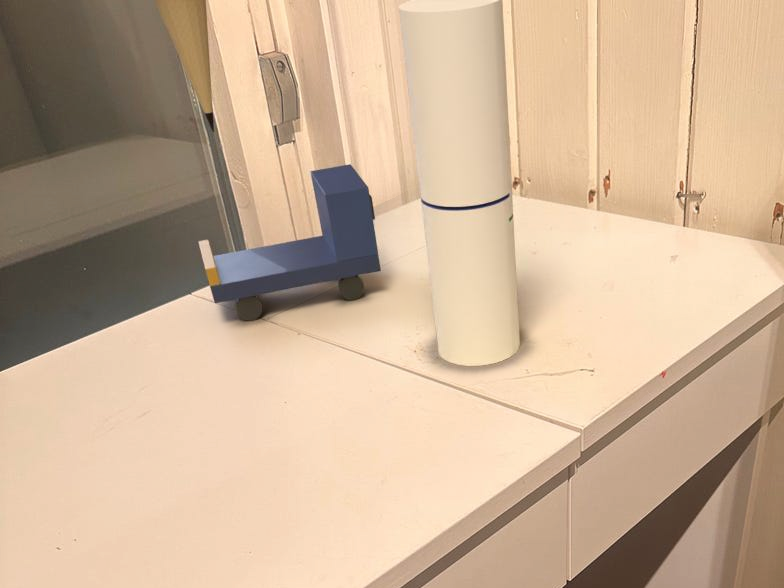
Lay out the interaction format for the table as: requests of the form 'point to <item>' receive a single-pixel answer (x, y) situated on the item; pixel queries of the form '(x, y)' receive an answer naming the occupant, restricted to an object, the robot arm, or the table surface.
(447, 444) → the table surface
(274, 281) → the flatbed truck
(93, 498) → the table surface
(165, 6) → the ice cream cone
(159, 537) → the table surface
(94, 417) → the table surface
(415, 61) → the cylindrical container
